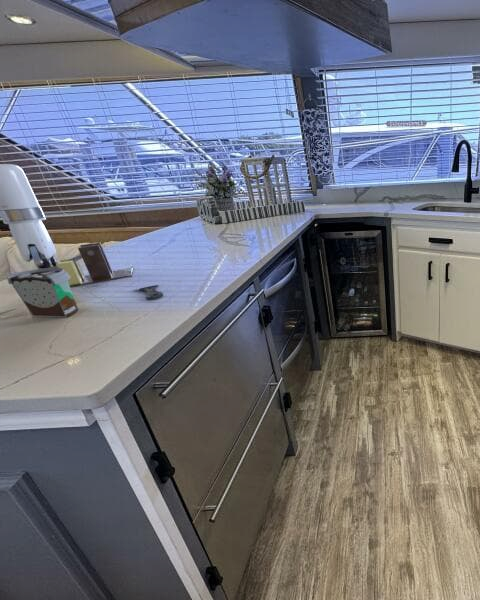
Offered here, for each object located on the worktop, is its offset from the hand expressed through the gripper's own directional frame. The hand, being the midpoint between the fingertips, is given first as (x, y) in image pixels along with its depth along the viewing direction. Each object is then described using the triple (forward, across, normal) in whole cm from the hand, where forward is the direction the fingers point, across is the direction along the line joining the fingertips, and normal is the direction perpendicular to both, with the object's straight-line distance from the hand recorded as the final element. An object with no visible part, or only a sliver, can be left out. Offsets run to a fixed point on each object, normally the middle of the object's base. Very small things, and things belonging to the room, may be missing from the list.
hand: (55, 281), depth 90 cm
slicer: (+2, 0, +10) cm, 10 cm away
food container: (+2, +24, +4) cm, 24 cm away
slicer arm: (-4, 0, +5) cm, 6 cm away
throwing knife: (+2, +20, +21) cm, 29 cm away
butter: (+1, 0, +4) cm, 4 cm away
